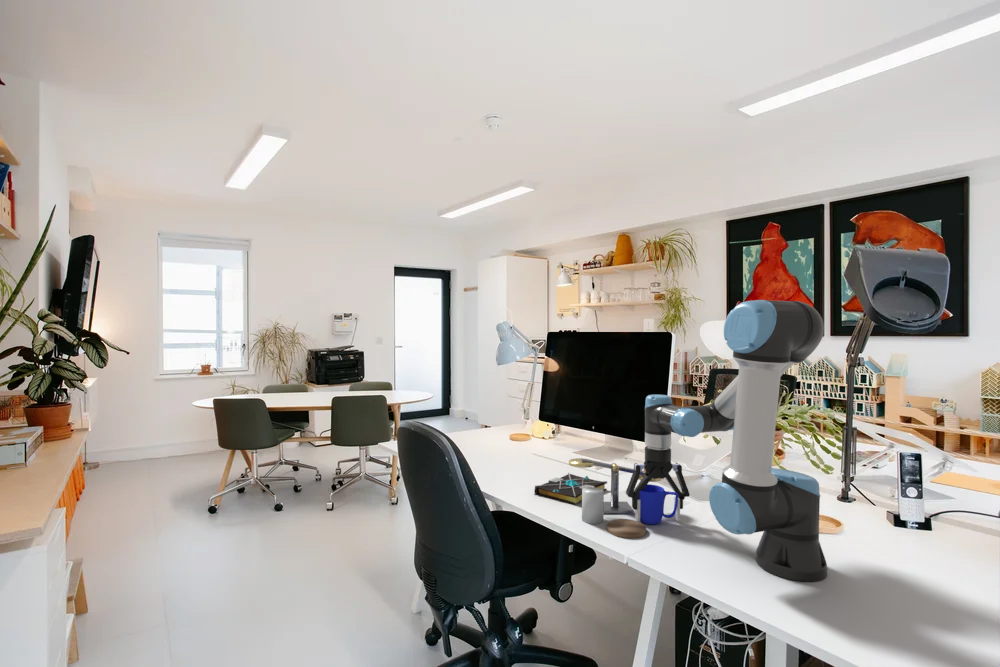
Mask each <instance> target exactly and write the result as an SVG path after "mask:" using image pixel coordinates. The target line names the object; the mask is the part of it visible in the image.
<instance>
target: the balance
mask: <svg viewBox="0 0 1000 667" xmlns="http://www.w3.org/2000/svg"><path fill="white" fill-rule="evenodd" d="M568 465H569V466H571V467H574V468H579V469H580V468H583V469H584V468H591V467H594V466H595V467H600V468H603V469H604V468H605V469H610V501H604V515H608V514H609V513H610V515H612V514H611V513H613V515H615V514H614V513H634V514H635V510H634V509H633V507H632V505H630V504H629V503H628V501H619V500H620V498H619V496H620V495H619V494H620V493H619V492H620V491H619V489H620V486H619V484H620V483H619V482H620V476H619V475H620V474H619V473H620V472H624V473H629V474H633V472H634V468H631V467H625V466H620V465H618V464H617V463H616V462H612V463H606V462H602V461H596V460H593V459H589V458H580V457H579V458H571V459H569V460H568ZM645 472H646V470H645V469H643V470H642V471H641V472H640V476H639V478H638V481H641V480H642V478H643V476H644V474H645ZM660 481H662V479H660V478H657V479H653V478H652V479H651V481H649V482H648V483H657V482H660Z"/></svg>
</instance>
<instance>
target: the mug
mask: <svg viewBox="0 0 1000 667" xmlns="http://www.w3.org/2000/svg"><path fill="white" fill-rule="evenodd" d="M639 493H640V496H639V497H638V499H640V523H642V524H644V525H653V526H654V525H659V524H660V523H661V522H662V520H663V517H664V518H667V519H671V518H674V515H675V513H676V509H677V503H678V493H676V492H674V491H669V490H667V491H666V490H665V488H664V487H663V486H659V485H656V484H649V483H648V484H647V485H646V487H645V488H644V490H643V491H641V490H640V491H639ZM667 495H668V496H669V495H671V496H673V495H674V496H676V497H675V506H673V511H672V513H670V514H665V513H664V512H665V511H664V509H665V508H664V507H665V500H666V497H667Z"/></svg>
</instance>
